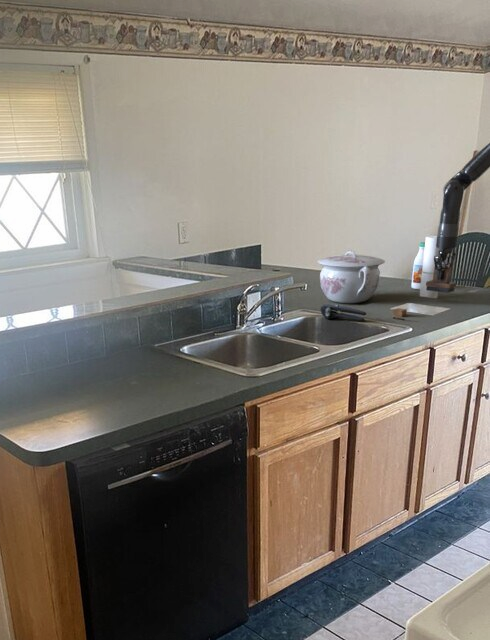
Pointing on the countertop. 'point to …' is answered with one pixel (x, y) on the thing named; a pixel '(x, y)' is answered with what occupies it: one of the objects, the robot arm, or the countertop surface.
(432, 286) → the brown branching block
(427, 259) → the cylindrical container
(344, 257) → the chamber pot
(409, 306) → the tile
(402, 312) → the cork block
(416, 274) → the milk bottle
